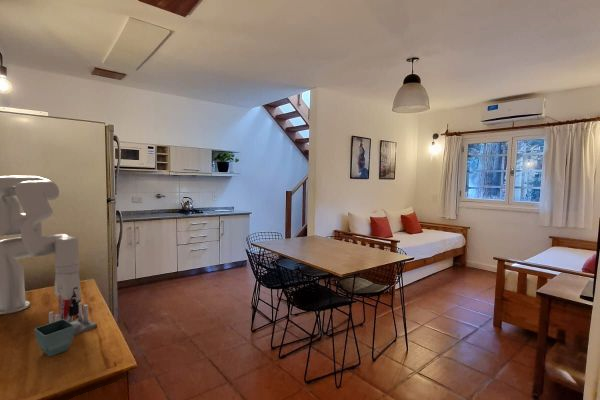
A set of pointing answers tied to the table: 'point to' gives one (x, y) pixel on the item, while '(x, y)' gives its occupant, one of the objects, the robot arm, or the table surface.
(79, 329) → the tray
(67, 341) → the flower pot
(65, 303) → the soda can
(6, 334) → the table surface
